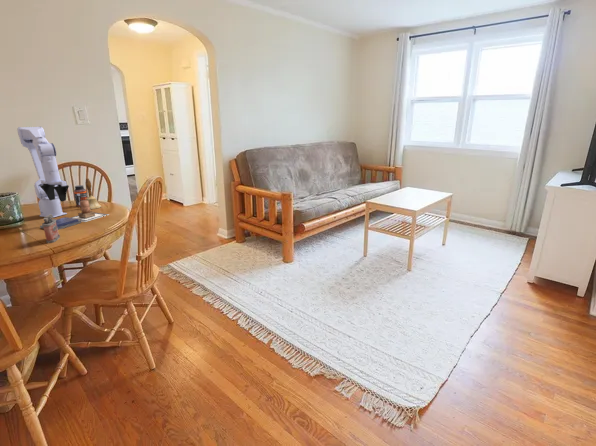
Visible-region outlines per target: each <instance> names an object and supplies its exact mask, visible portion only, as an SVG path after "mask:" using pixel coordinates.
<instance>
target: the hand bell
mask: <svg viewBox="0 0 596 446" xmlns="http://www.w3.org/2000/svg"><path fill="white" fill-rule="evenodd" d="M85 187H86V190H87V197H88V198H86V200H88V202H89V207H90V210H97V209H100V208H102V205H101V204H99V202H98V201H97V198H96V197H95V196H93V192H92V181H91V180H90V178H85Z"/></svg>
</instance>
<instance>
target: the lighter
mask: <svg viewBox="0 0 596 446" xmlns="http://www.w3.org/2000/svg"><path fill="white" fill-rule="evenodd" d="M52 217H53V215H52V214H49V215H48V216H45V217H44V218H43V221H44V222H43V224H42V223H41V224H42V225H41V226H43V227H44V229H43V231H44V234H45V238H46V241H45V243H46V244H52V243H55V242H57V241H58V240H59V239H60V238H61V236H60V233H59V230H58V229H57V225H56V220H57V219H55V218H54V217H53V218H52Z"/></svg>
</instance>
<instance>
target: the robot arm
mask: <svg viewBox="0 0 596 446" xmlns="http://www.w3.org/2000/svg"><path fill="white" fill-rule="evenodd" d="M44 129H45V128H43V127H42V126H25V127H24V126H22V127H21V126H18V127H17V130H16V131H17V134H18V138H19V141H20V143H21V146H22V147H25V148H27V151H29V153H30V156H31V159H32V162H33V165H34V167H35V171H36V173H37V177H38V179H37V181H35V183H34V185H33V186H34V190H35V195H36V198H37V199H39V200H38V208H39V212H40V214H39V217H45V216H48V215H49V214H52V215H53V217H52V218H51V219H54V218H56V217H61V216H63V215H67V214H68V213H67V212H63V208H62V205H61V203H62V202H65V201H67V193H68V189H69V187H70V186H69V184H67V181H65V180H62V179H61V174H60V172H59V166H58V162H57V148H56V147H55V146H56V145H54V143H53V142H51V143H50V142H49V141H48V139H47V138H46V133H45V130H44Z"/></svg>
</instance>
